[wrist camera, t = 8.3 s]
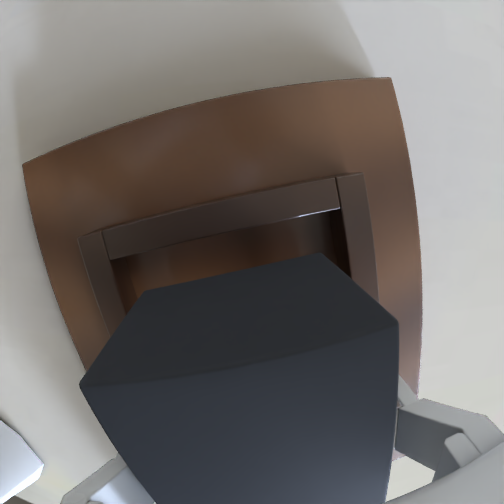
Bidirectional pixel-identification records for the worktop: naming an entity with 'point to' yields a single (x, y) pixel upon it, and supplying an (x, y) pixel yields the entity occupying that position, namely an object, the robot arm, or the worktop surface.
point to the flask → (16, 463)
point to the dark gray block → (253, 388)
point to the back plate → (233, 203)
